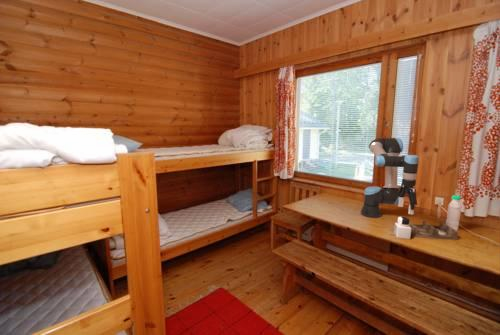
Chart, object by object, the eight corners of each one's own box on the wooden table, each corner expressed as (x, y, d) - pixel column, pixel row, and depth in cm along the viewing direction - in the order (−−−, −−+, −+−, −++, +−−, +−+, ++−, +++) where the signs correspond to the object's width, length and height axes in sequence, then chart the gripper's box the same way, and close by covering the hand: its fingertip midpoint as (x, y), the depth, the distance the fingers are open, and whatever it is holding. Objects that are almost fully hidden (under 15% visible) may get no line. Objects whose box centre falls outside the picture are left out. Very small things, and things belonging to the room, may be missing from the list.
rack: (404, 227, 176) (405, 219, 174) (440, 229, 172) (441, 221, 171) (416, 238, 158) (418, 230, 157) (457, 241, 154) (459, 232, 153)
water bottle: (442, 228, 173) (447, 195, 168) (448, 226, 175) (453, 194, 171) (453, 232, 166) (459, 198, 162) (460, 230, 169) (465, 196, 164)
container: (406, 234, 165) (408, 216, 162) (410, 239, 158) (412, 220, 155) (393, 232, 167) (395, 215, 165) (397, 237, 160) (399, 219, 157)
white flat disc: (428, 229, 169) (428, 228, 168) (441, 230, 167) (441, 229, 167) (435, 235, 160) (435, 233, 160) (449, 236, 159) (449, 234, 159)
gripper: (394, 174, 167) (391, 203, 171) (413, 183, 143) (408, 217, 147) (405, 174, 166) (402, 203, 170) (426, 184, 142) (422, 217, 146)
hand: (405, 210), depth 159 cm, fingers open, 13 cm apart
